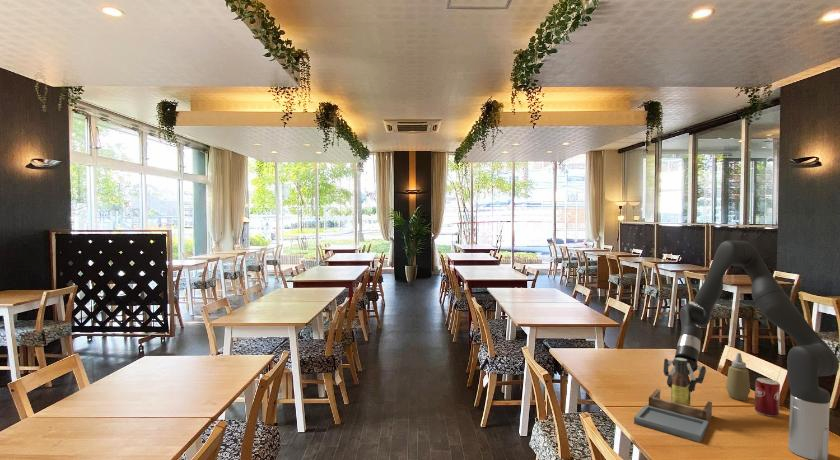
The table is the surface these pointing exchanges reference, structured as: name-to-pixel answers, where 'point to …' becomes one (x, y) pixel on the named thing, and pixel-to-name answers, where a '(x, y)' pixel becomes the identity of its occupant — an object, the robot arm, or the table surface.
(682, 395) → the sauce bottle
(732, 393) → the squeeze bottle
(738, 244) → the robot arm
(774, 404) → the soda can
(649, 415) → the tray
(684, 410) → the holder
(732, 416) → the table surface
